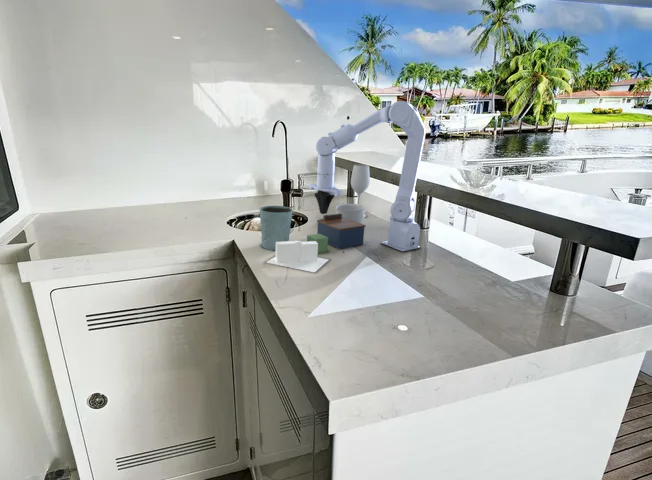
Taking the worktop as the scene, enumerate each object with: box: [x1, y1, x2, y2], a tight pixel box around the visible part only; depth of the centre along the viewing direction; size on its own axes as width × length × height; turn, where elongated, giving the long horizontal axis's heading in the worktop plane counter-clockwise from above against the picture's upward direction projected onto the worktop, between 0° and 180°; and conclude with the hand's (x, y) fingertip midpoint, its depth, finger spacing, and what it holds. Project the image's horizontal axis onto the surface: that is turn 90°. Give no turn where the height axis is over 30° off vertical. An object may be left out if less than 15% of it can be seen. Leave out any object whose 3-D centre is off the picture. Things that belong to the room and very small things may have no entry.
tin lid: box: [316, 213, 366, 231], centre depth 124 cm, size 12×10×2 cm
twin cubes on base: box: [266, 240, 330, 273], centre depth 108 cm, size 15×11×6 cm
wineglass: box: [350, 164, 371, 218], centre depth 157 cm, size 8×8×21 cm
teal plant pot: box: [259, 205, 294, 251], centre depth 119 cm, size 10×10×12 cm
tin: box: [316, 222, 365, 250], centre depth 126 cm, size 12×10×6 cm
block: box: [306, 233, 329, 254], centre depth 117 cm, size 5×5×5 cm
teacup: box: [334, 202, 366, 224], centre depth 144 cm, size 14×11×8 cm
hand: (323, 213), depth 132 cm, fingers closed
